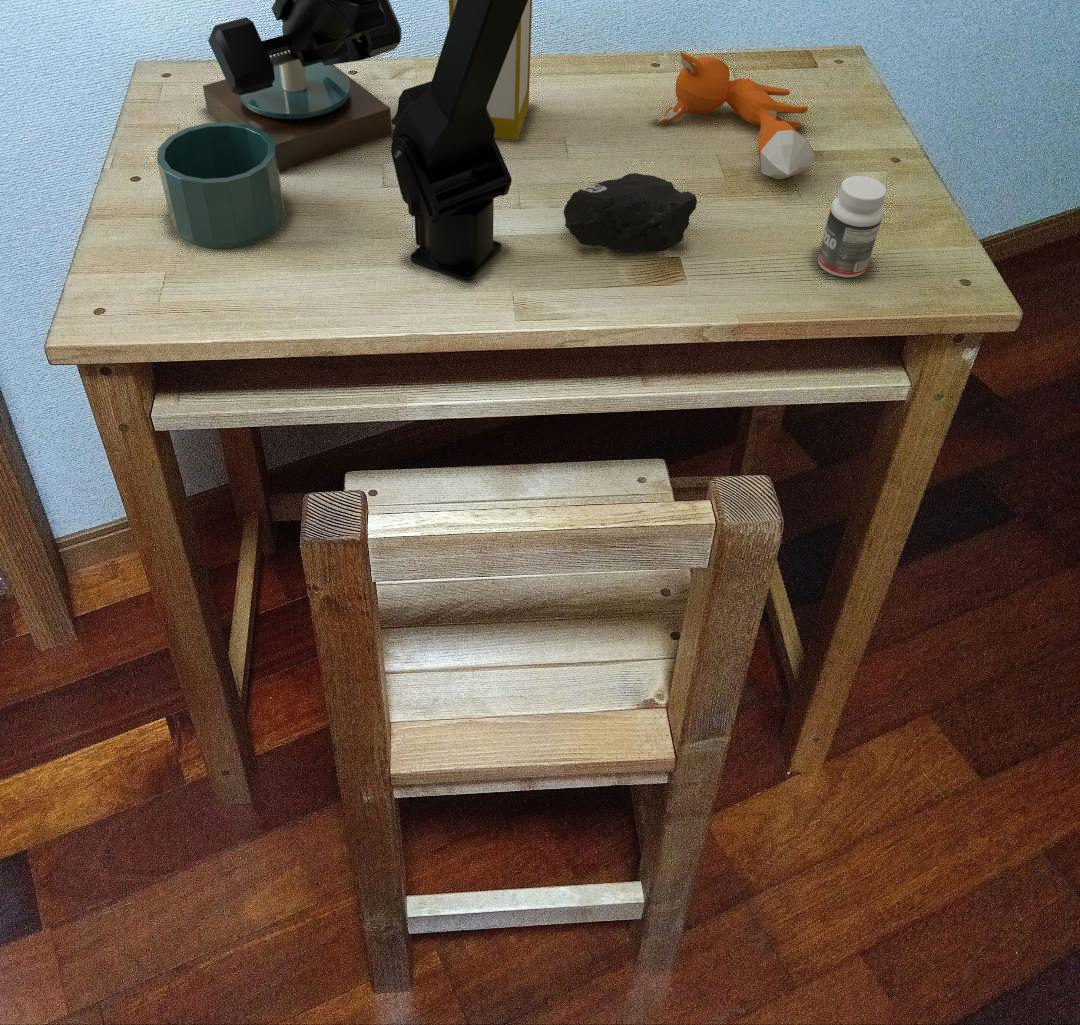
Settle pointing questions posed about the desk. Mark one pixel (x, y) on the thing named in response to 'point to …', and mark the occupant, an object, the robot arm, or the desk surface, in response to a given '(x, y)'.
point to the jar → (222, 184)
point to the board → (307, 124)
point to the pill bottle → (852, 227)
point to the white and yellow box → (511, 81)
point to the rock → (630, 214)
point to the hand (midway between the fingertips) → (286, 71)
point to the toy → (744, 112)
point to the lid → (300, 92)
